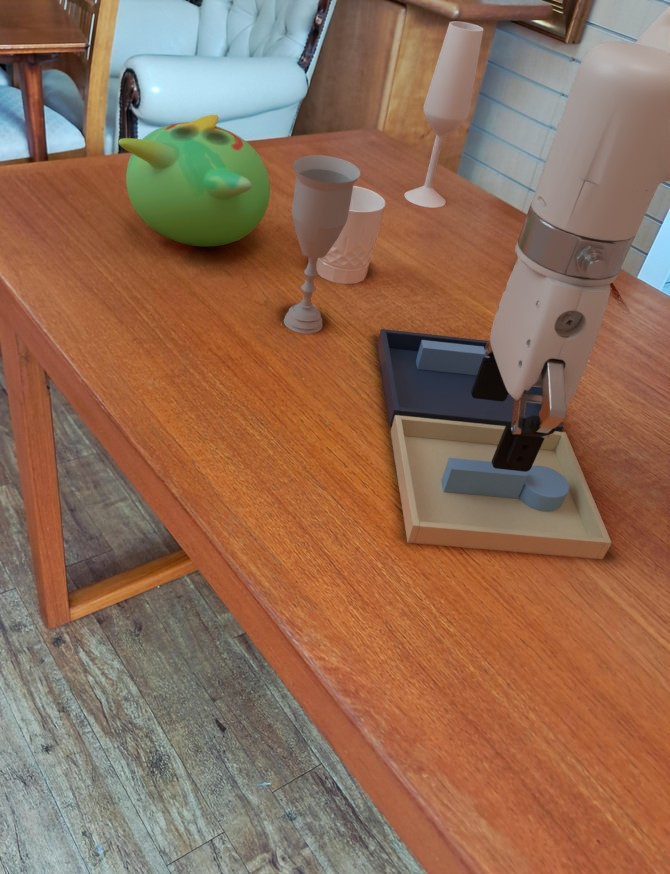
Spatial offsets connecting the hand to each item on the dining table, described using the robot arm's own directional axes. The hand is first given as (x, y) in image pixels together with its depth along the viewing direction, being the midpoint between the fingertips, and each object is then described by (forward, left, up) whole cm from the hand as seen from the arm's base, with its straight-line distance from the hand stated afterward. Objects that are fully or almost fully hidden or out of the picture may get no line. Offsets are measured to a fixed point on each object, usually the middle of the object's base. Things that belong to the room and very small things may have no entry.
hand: (498, 431), depth 68 cm
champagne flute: (-4, -70, -8) cm, 70 cm away
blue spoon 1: (-3, -20, -7) cm, 22 cm away
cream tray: (-1, 0, -7) cm, 8 cm away
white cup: (+11, -41, -8) cm, 43 cm away
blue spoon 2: (-3, 0, -7) cm, 8 cm away
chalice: (+16, -27, -8) cm, 32 cm away
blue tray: (-1, -16, -7) cm, 18 cm away
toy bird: (+30, -46, -8) cm, 55 cm away
